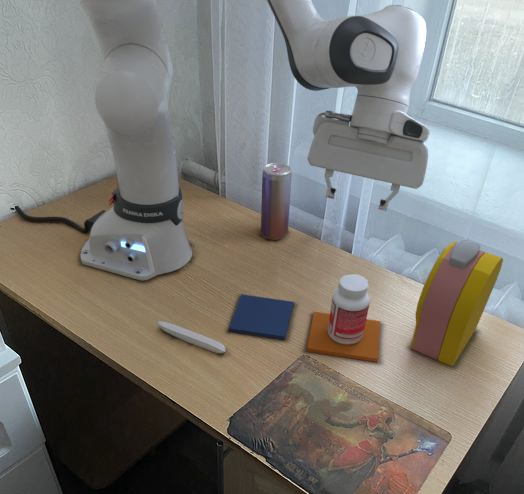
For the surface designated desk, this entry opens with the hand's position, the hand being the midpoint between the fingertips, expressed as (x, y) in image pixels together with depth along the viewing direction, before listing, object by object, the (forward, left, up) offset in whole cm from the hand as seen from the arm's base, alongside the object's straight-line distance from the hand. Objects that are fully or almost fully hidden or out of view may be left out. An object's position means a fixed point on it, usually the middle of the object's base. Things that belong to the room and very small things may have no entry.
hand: (355, 204), depth 95 cm
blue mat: (-14, -15, -17) cm, 26 cm away
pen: (-24, -24, -17) cm, 38 cm away
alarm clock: (+18, -13, -17) cm, 28 cm away
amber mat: (+1, -17, -17) cm, 24 cm away
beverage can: (-17, +14, -17) cm, 27 cm away
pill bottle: (+2, -17, -16) cm, 23 cm away
